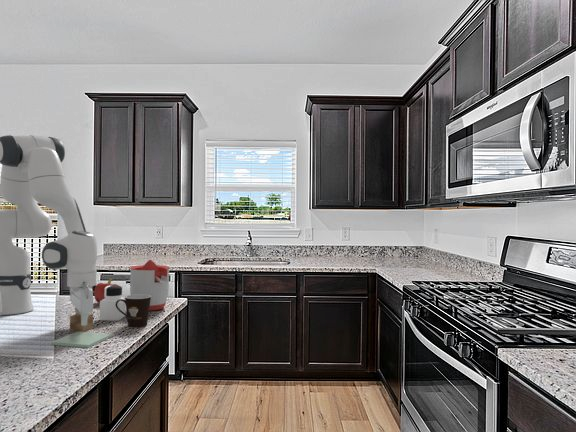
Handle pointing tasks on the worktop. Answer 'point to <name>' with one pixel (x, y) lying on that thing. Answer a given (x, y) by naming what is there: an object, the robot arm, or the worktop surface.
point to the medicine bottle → (112, 304)
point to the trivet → (81, 339)
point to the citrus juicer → (151, 283)
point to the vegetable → (101, 290)
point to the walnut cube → (76, 323)
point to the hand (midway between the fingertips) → (81, 322)
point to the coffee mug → (136, 309)
